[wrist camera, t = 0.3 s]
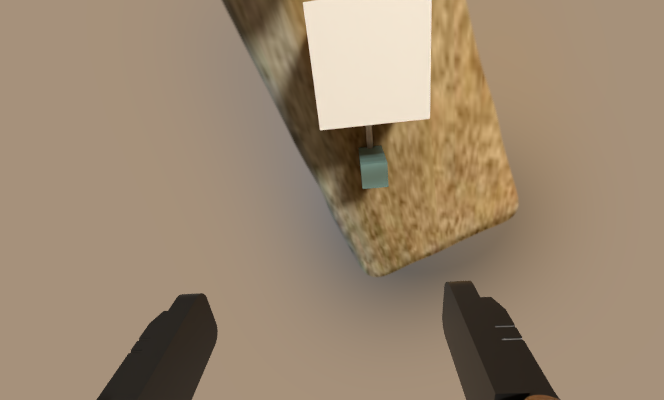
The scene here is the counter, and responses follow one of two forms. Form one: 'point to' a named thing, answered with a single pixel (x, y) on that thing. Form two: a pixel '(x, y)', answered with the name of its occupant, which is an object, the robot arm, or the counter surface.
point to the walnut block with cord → (372, 164)
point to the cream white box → (369, 60)
